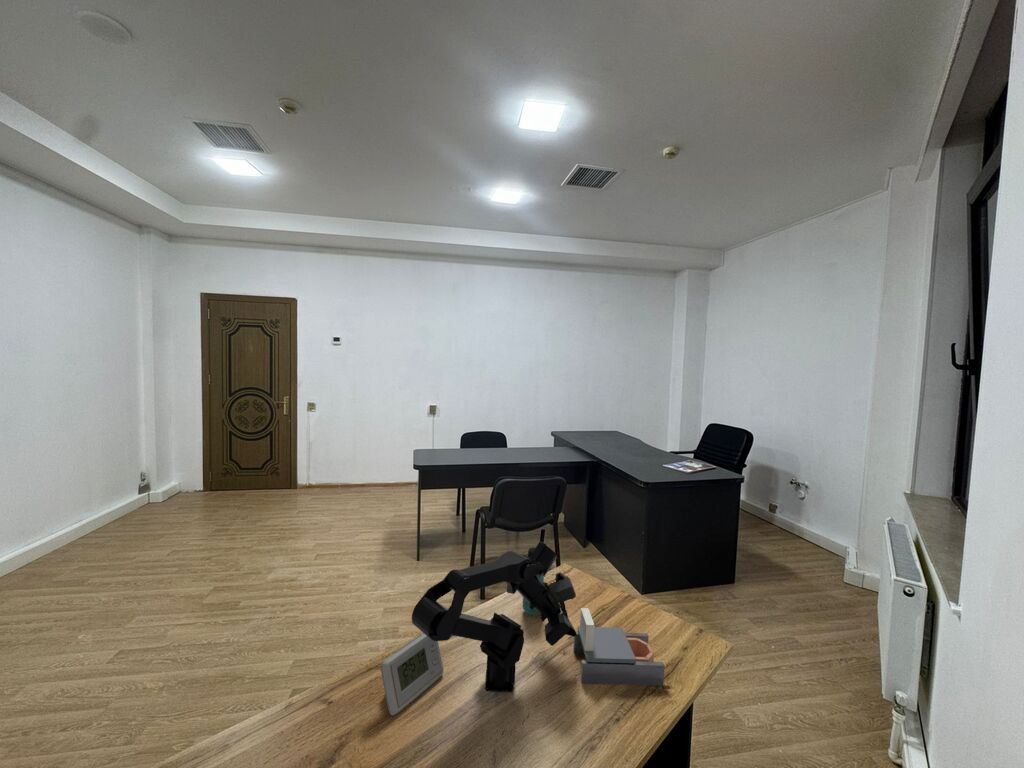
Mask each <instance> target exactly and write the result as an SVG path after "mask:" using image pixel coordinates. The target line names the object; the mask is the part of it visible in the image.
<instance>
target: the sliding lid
mask: <svg viewBox="0 0 1024 768" xmlns="http://www.w3.org/2000/svg"><path fill="white" fill-rule="evenodd" d="M577 631H578V633H579V636H580V640H581V643H582V647H583V650H584V653H583V654H584V658H585V660H586V661H587V662H606V663H636V657H635V655H634V653H633V651H632V649H631V647H630V644H629V642H628V640H627V638H626V636H625V633H626V632H625V631H624V629H623V628H622V627H615V626H614V627H608V626H607V627H606V626H595V622H594V621H593V617H592V615H591V612H590V609H589V608H587V607H586V608H585V607H581V608H580V620H579V626H577Z"/></svg>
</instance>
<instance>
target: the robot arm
mask: <svg viewBox="0 0 1024 768" xmlns="http://www.w3.org/2000/svg"><path fill="white" fill-rule="evenodd" d="M534 548H535V550H534V551H533V553H532V554H531V556H530V557H528V556H526V555H524V554H520V553H518V552H516V551H513V550H509V551H507V552H504V553H502V554H501V555H499V556H498V558H497V560H494V561H490V562H486V563H481V564H478V565H473V566H469V567H465V568H464V567H463V568H461V569H458V568H457V569H456V568H455V569H452V570H449V572H448V573H447V574H446V576H445V577H444V578H443V579H442V580H440V581H439V582H437V583H436V584H434V585H433V586H431V587H429V588H428V589H427V590H426V591H425V593H424V594H423V595H422V596H421V598H420V599H419V600H418V602H417V603H416V605H415V606H414V608H413V610H412V613H411V624H412V625H413V626H415V628H417V629H418V630H420V632H422V633H424V634H425V635H427V636H428V637H429V638H430V639H431V640H433V641H438V642H444V641H445V642H447V641H449V640H450V639H451V638H452V637H460V638H464V639H468V640H475V641H479V642H481V643H480V644H479V647H480V648H479V649H480V650H481V653H483V654H485V655H486V669H485V683H484V690H485V692H508V693H509V692H513V691H514V684H515V683H516V664H517V663H519V662H520V659H521V655H522V651H523V647H524V643H525V638H524V634H525V630H523V629H522V625H520V624H519V623H518V622H516V621H514V620H513V619H512V618H510V617H508V616H506V615H505V614H504V613H499V614H498V613H496V612H495V611H494V613H493V615H492V616H493V617H491V619H486V618H481V617H477V616H473V615H470V614H465V613H462V611H463V609H464V605H465V604H464V603H465V599H466V597H468V595H469V594H470V592H474V591H477V590H480V589H484V588H488V587H491V586H494V585H497V584H500V583H501V584H502V583H506V593H507V594H512V595H514V594H516V592H518V593H519V594H520V595H521V596H523V597H524V598H525V599H526V600H527V601H528V602H529V607H530V608H531V610H532V609H533V608H534V609H535V610H536V611H537V612H538V613H537V614H539V619H540V620H541V621H542V622H544V621H545V620H547V623H546V624H544V628H543V630H544V637H545V641H546V642H547V643H548V644H549V646H552V647H553V646H555V644H557V643H558V642H559V641H560V640H561V639H562V638H564V636H571V637H573V638H574V636H575V635H576V630H575V627H574V626H573V623H572V622H571V621H570V619H569V614H568V611H567V609H566V604H565V602H567V601H570V600H574V599H575V598H576V596H577V595H576V591H575V588H574V585H573V582H572V581H571V578H570V577H568V575H565V574H563V573H562V572H561V571H560V572H558V573H556V574H555V577H554V578H555V579H554V581H552V582H550V583H549V584H548V581H547V582H546V581H544V582H543V583H542V582H541V581H540V580H539V579H538V578H537V577H536V576H540V575H542V576H544V578H545V577H546V576H547V574H548V572H549V570H551V567H552V566H553V564H554V563H555V561H556V560H557V558H558V555H557V553H556V552H555V551H553V549H552V548H551V547H549V546H548V544H547V543H545V542H543V541H539V542H538V544H537V545H536V547H534ZM535 575H536V576H535ZM452 591H453V592H454V593H453V597H452V602H451V604H450V605H449V607H446V606H445V605H443V604H441V603H440V602H438V600H439V599H441V598H442V597H444V596H445V595H446V594H449V593H450V592H452Z"/></svg>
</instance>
